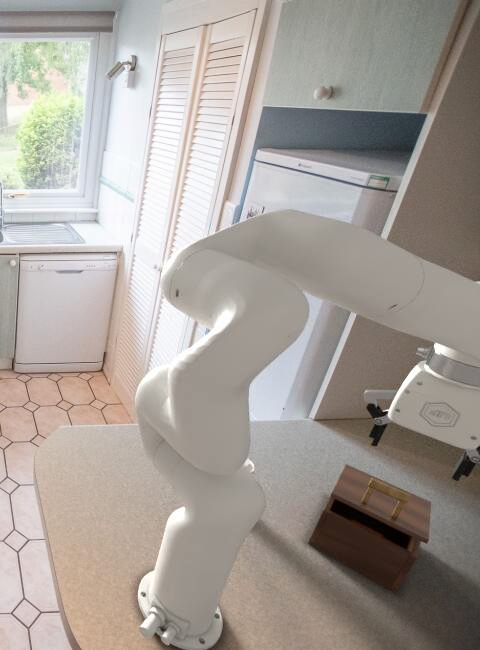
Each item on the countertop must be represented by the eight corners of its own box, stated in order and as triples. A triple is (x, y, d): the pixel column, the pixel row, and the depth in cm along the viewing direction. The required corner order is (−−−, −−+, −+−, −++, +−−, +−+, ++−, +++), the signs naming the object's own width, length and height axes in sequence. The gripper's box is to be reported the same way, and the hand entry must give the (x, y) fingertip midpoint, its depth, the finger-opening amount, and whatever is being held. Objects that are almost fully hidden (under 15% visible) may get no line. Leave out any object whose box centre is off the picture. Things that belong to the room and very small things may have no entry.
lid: (426, 544, 71) (442, 516, 69) (329, 496, 79) (342, 470, 78) (429, 505, 82) (443, 480, 81) (344, 467, 91) (355, 444, 89)
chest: (395, 592, 76) (417, 558, 73) (307, 543, 85) (323, 509, 81) (409, 538, 86) (429, 505, 82) (329, 499, 94) (344, 467, 91)
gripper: (381, 352, 68) (341, 440, 76) (557, 405, 57) (490, 504, 64) (390, 337, 73) (352, 421, 80) (556, 383, 61) (493, 478, 68)
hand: (413, 458), depth 72 cm, fingers open, 9 cm apart
